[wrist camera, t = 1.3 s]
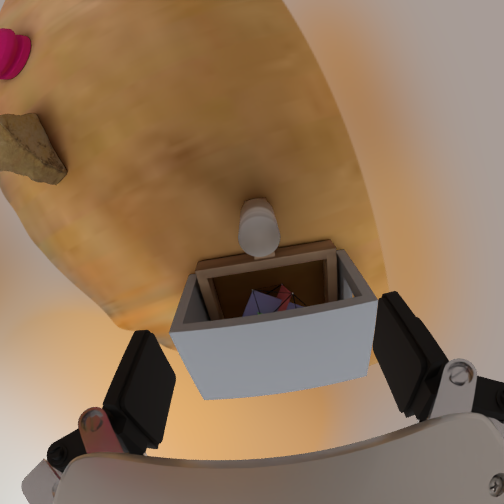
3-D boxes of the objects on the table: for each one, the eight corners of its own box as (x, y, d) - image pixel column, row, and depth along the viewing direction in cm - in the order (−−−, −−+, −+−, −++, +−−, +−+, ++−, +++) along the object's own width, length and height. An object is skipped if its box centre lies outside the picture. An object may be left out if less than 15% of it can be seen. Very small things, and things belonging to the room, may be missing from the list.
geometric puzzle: (265, 260, 26) (245, 341, 23) (325, 283, 28) (313, 358, 24) (243, 283, 33) (226, 347, 29) (294, 300, 34) (282, 362, 30)
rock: (78, 180, 22) (57, 89, 17) (7, 221, 17) (-21, 123, 11) (56, 178, 28) (39, 110, 23) (4, 208, 23) (-16, 137, 17)
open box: (189, 274, 29) (168, 332, 21) (343, 249, 28) (377, 300, 20) (212, 340, 34) (204, 399, 25) (343, 319, 33) (366, 375, 24)
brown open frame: (183, 208, 26) (161, 235, 19) (325, 183, 25) (351, 203, 18) (224, 343, 34) (220, 387, 27) (333, 326, 33) (347, 368, 26)
